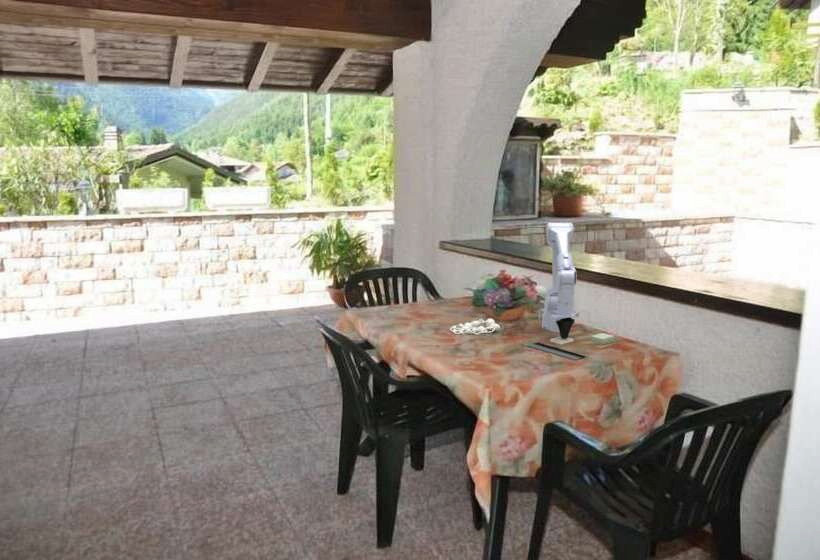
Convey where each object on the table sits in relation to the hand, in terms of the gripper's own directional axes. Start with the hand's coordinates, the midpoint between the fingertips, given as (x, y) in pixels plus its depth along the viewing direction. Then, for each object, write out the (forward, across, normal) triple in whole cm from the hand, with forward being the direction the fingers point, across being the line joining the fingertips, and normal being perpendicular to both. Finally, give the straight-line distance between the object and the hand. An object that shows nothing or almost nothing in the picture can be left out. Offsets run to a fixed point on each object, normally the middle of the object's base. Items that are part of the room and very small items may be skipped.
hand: (564, 337), depth 219 cm
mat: (+3, -5, -4) cm, 7 cm away
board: (+3, +10, -4) cm, 11 cm away
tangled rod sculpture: (+3, -12, +34) cm, 36 cm away
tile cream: (+2, -1, 0) cm, 3 cm away
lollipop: (+3, +23, +32) cm, 39 cm away
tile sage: (+1, +11, -9) cm, 14 cm away
